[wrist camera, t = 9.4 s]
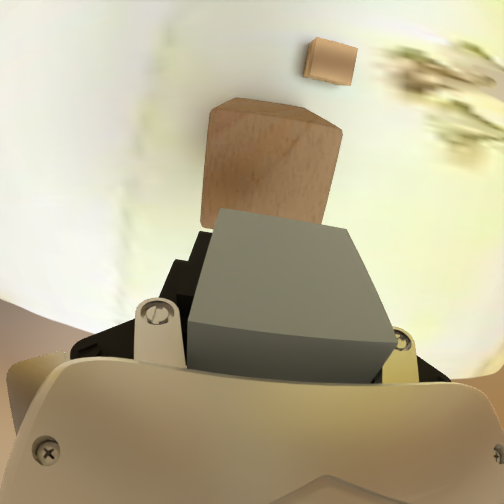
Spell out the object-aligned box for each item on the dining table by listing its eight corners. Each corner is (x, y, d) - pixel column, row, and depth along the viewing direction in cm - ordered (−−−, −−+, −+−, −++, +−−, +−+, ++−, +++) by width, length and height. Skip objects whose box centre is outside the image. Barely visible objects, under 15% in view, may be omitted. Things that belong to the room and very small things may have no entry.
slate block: (220, 207, 11) (188, 320, 6) (346, 229, 12) (398, 342, 7) (208, 306, 14) (187, 421, 9) (312, 320, 14) (329, 432, 9)
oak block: (309, 43, 32) (316, 37, 27) (344, 52, 33) (357, 48, 28) (303, 76, 35) (309, 75, 30) (338, 85, 35) (350, 85, 30)
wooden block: (225, 165, 42) (198, 229, 25) (233, 97, 37) (209, 107, 20) (294, 175, 42) (316, 245, 25) (307, 108, 37) (345, 129, 20)
